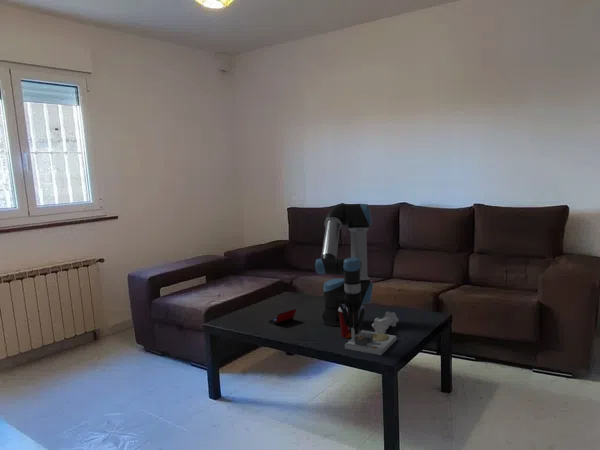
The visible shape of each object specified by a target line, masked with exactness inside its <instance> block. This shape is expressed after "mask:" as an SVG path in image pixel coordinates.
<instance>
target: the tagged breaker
mask: <svg viewBox="0 0 600 450" xmlns="http://www.w3.org/2000/svg"><path fill="white" fill-rule="evenodd" d="M355 345H360V346H366V345H367V338H364V337H358V336H357V337H356V338H355Z"/></svg>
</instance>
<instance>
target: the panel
mask: <svg viewBox="0 0 600 450" xmlns="http://www.w3.org/2000/svg"><path fill="white" fill-rule="evenodd" d="M357 336H358V337H364V338H367V345H366V346H360V345H355V342H353V341H352V338H351V339H349V341H347V342H345V343H344V349H345V350H351V351H355V352H356V351H357V352H362V353H366V354H370V355H377V356H382V355H383V354H384V353H385V352H386V351H387V350H388V349H389V348H390V347H391V346H392V345H393V344H394V343H395V342H396V341H397V335H394V334H393V335H391V334H387V333H385V334H382V333H376V332H375V331H368V330H361V331H359V332H358V334H357Z"/></svg>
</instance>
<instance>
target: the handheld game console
mask: <svg viewBox="0 0 600 450" xmlns="http://www.w3.org/2000/svg"><path fill="white" fill-rule="evenodd" d="M296 311H297V309H296V308H294V309H291V310H288V311H285V312H281V313H279V314H277V316H276V317H274V318H272V319H270V320H268V322H269V324H272V325H274V326H278V325H281V324H284V323H287V322H291V321H294V316H295V314H296Z"/></svg>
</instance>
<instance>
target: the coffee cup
mask: <svg viewBox="0 0 600 450" xmlns="http://www.w3.org/2000/svg"><path fill="white" fill-rule="evenodd" d="M346 309H347V307H346ZM338 311H339V317H340V326H339V327H340V334H341V337H342V338H344V339H349V338H351V339H352V337H351V334H350V327H349V326H346V324H345V320H344V316H343V313H342V310H341V308H340V307H339V309H338ZM347 313H348V309H347ZM348 317H349V313H348ZM353 324H354V314H353ZM353 326H354V325H353Z"/></svg>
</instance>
